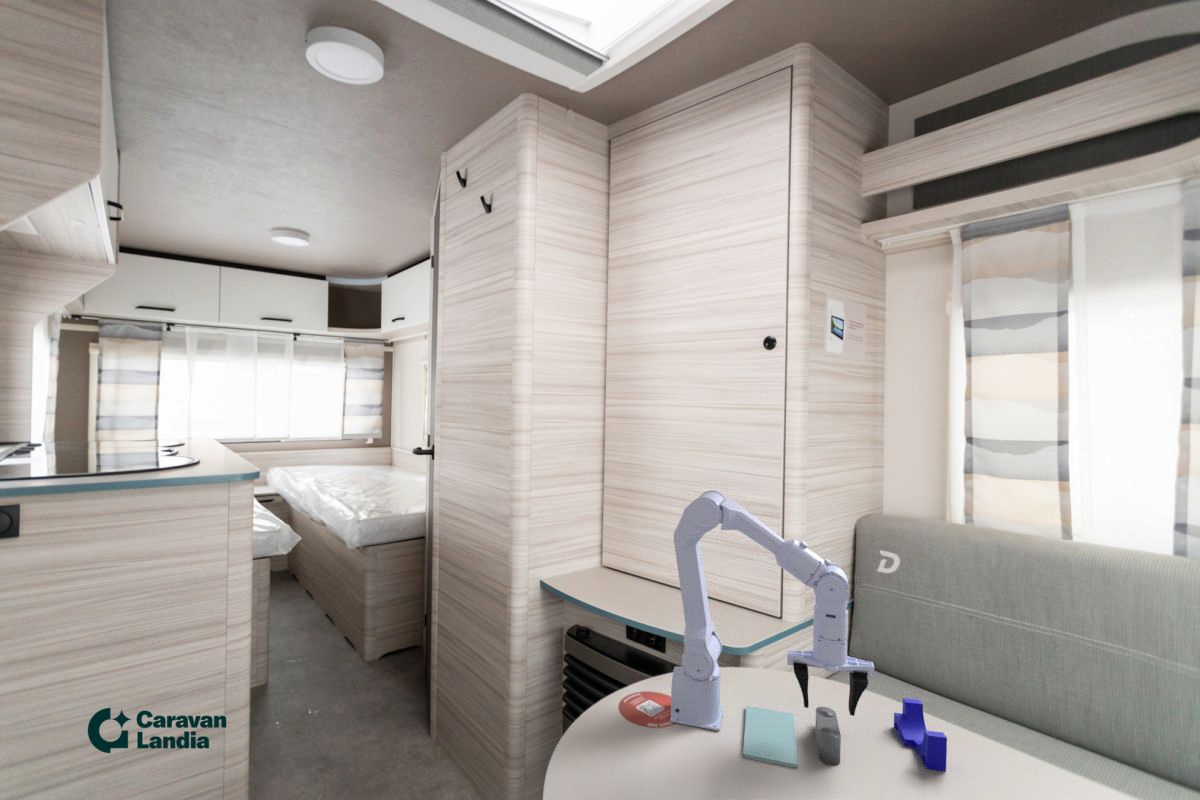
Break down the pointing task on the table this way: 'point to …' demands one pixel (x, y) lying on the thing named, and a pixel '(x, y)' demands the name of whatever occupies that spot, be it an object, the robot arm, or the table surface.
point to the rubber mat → (770, 736)
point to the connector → (827, 736)
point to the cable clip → (921, 735)
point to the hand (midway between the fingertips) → (828, 708)
